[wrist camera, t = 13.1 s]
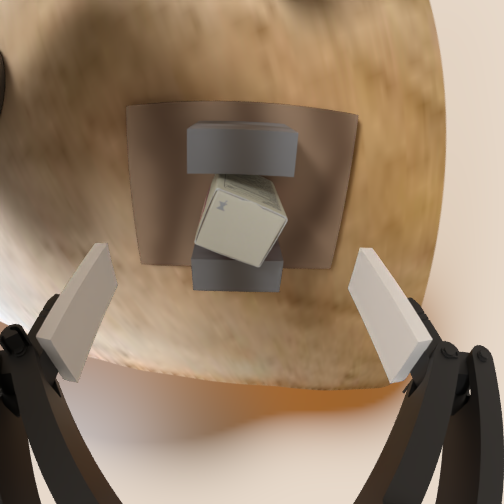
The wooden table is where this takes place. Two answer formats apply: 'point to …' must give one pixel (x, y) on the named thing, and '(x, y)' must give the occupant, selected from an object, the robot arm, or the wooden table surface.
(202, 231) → the small box
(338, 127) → the slotted post block
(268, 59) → the wooden table surface
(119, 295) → the wooden table surface
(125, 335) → the wooden table surface
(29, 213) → the wooden table surface
